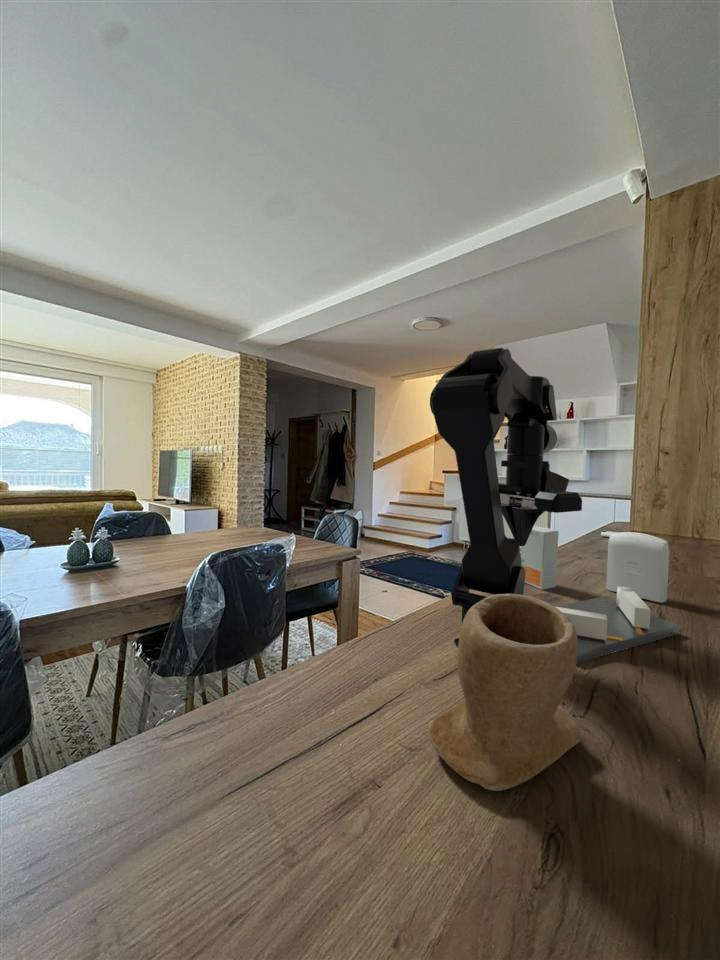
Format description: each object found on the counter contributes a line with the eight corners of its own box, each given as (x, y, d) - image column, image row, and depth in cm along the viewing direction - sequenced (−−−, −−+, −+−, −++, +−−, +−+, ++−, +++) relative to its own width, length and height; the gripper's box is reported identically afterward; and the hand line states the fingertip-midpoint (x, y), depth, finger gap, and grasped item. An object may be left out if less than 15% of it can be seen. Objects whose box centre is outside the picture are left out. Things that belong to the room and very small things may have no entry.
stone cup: (509, 839, 31) (517, 646, 30) (411, 741, 41) (414, 594, 40) (620, 762, 39) (630, 606, 37) (514, 695, 49) (519, 570, 48)
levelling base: (573, 665, 56) (574, 645, 55) (503, 625, 68) (504, 609, 67) (679, 635, 65) (680, 617, 65) (601, 604, 77) (601, 590, 77)
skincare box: (518, 581, 90) (521, 526, 89) (533, 578, 92) (535, 525, 91) (541, 590, 84) (544, 532, 83) (556, 587, 86) (559, 530, 85)
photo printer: (602, 590, 85) (605, 530, 84) (610, 585, 87) (613, 527, 86) (662, 605, 77) (667, 539, 76) (669, 600, 80) (674, 536, 78)
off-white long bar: (614, 602, 73) (615, 585, 73) (630, 604, 72) (631, 587, 72) (632, 626, 64) (633, 607, 63) (650, 628, 63) (652, 609, 63)
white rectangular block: (528, 626, 63) (529, 607, 63) (529, 620, 65) (530, 602, 65) (606, 640, 59) (607, 620, 59) (604, 633, 61) (605, 614, 61)
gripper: (609, 456, 65) (603, 554, 66) (519, 453, 82) (516, 531, 84) (557, 456, 61) (552, 561, 62) (474, 453, 78) (471, 535, 79)
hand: (521, 545), depth 72 cm, fingers closed
